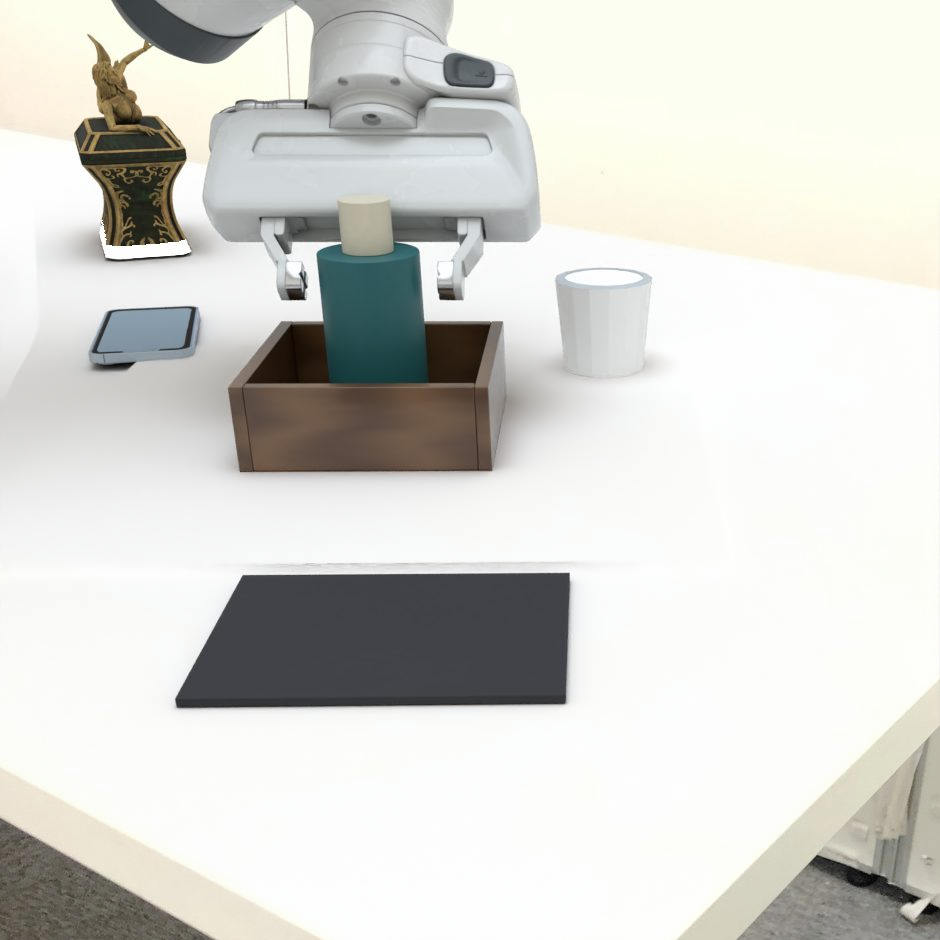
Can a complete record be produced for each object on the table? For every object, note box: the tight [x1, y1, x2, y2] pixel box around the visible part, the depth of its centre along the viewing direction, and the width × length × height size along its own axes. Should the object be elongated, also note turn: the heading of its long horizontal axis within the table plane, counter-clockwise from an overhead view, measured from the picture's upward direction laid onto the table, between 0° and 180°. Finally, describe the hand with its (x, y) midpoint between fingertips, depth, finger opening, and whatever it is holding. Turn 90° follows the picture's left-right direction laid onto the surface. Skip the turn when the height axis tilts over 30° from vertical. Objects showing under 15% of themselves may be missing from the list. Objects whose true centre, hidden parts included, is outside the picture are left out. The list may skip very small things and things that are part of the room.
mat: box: [174, 572, 571, 708], centre depth 60 cm, size 16×12×1 cm
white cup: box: [554, 267, 653, 379], centre depth 95 cm, size 7×7×7 cm
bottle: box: [315, 194, 429, 384], centre depth 80 cm, size 6×6×14 cm
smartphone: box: [87, 305, 201, 366], centre depth 103 cm, size 7×1×15 cm
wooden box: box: [227, 320, 507, 473], centre depth 83 cm, size 15×15×6 cm
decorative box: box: [73, 33, 188, 246], centre depth 132 cm, size 20×10×20 cm, turn 22°
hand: (371, 295), depth 79 cm, fingers open, 8 cm apart
